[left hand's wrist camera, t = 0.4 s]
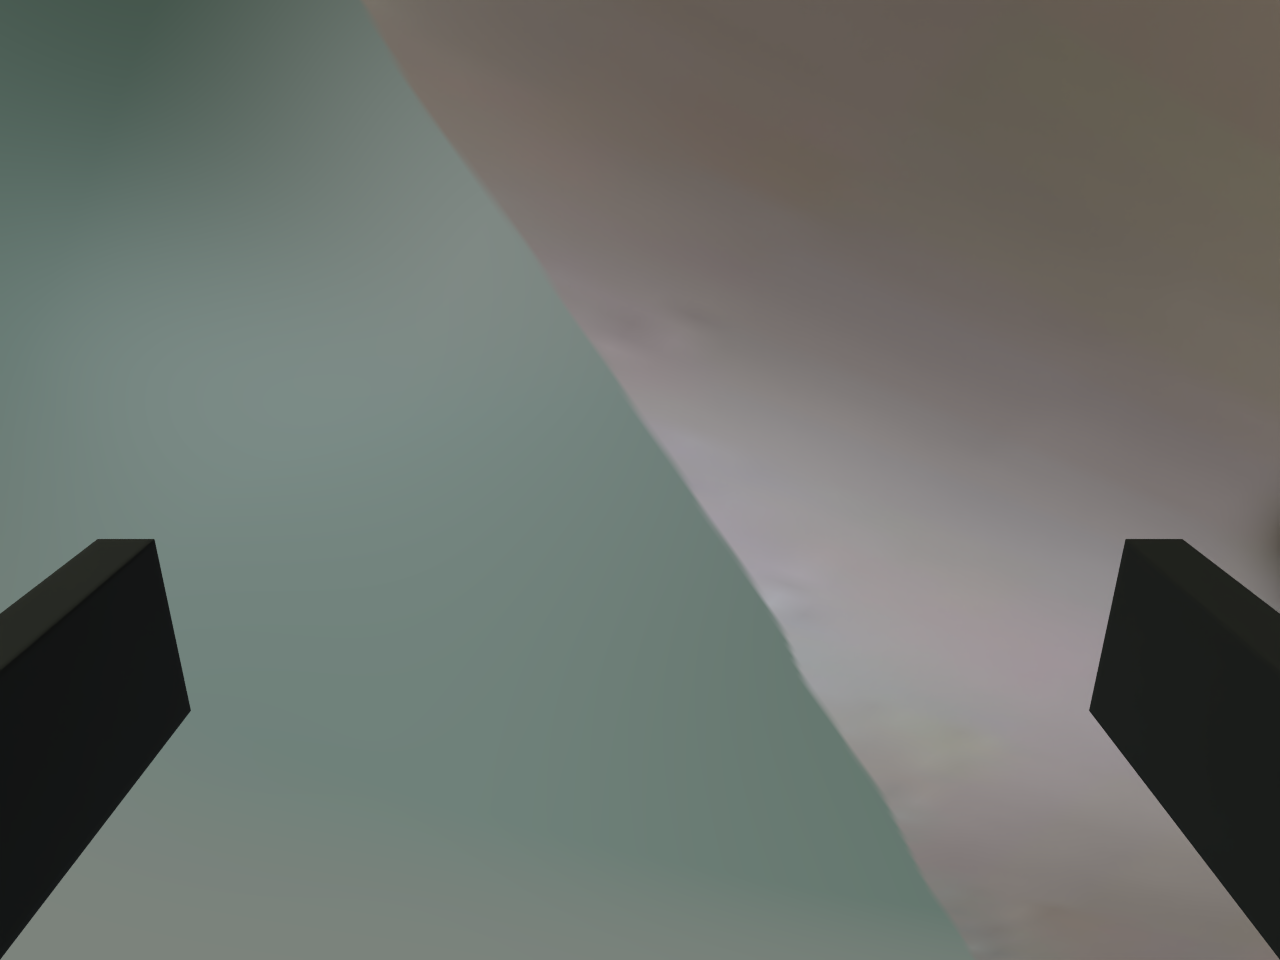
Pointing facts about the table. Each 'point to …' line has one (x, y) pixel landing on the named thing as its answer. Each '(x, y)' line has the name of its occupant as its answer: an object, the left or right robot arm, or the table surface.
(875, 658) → the table surface
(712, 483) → the table surface
